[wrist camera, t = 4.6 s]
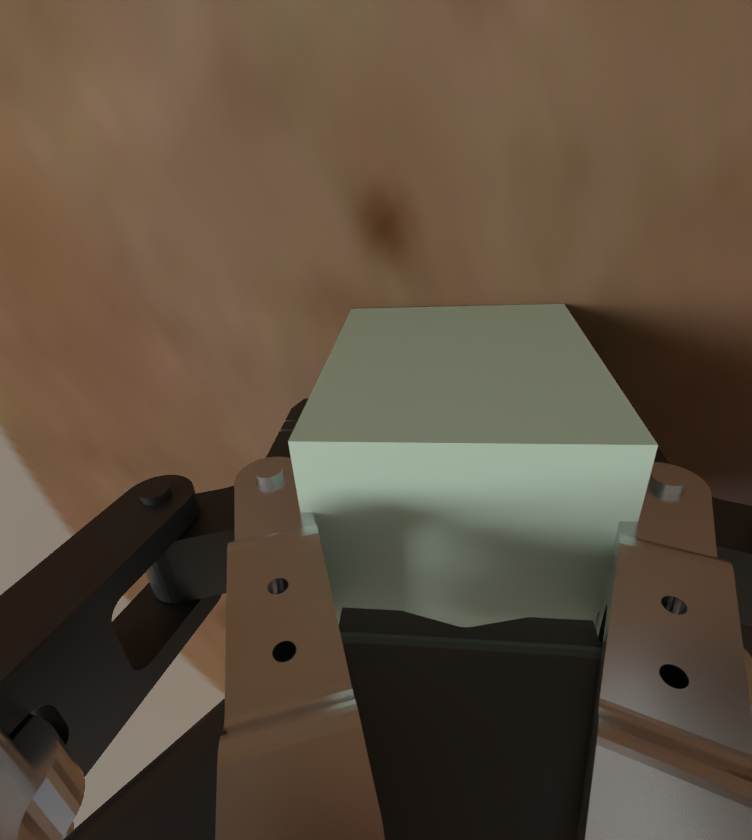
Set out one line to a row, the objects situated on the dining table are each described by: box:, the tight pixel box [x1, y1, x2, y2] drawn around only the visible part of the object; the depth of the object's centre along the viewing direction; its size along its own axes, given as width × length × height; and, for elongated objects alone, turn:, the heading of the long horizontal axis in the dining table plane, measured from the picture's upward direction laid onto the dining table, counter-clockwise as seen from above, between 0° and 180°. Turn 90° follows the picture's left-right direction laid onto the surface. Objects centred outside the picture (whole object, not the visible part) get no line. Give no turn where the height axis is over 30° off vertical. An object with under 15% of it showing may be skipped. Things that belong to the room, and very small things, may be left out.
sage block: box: [288, 304, 658, 627], centre depth 11 cm, size 5×5×6 cm
